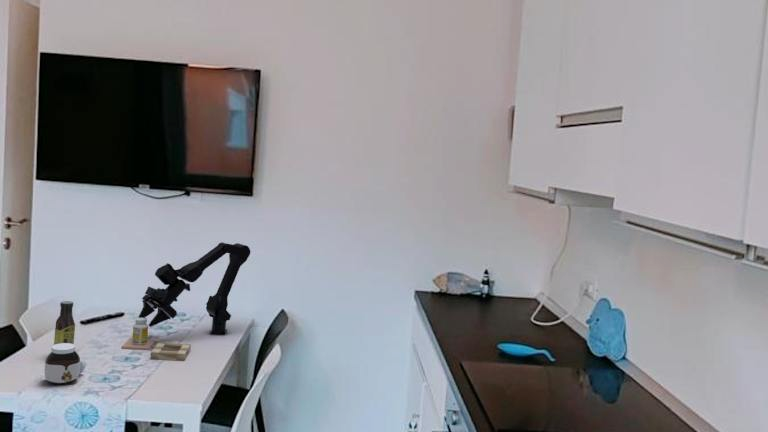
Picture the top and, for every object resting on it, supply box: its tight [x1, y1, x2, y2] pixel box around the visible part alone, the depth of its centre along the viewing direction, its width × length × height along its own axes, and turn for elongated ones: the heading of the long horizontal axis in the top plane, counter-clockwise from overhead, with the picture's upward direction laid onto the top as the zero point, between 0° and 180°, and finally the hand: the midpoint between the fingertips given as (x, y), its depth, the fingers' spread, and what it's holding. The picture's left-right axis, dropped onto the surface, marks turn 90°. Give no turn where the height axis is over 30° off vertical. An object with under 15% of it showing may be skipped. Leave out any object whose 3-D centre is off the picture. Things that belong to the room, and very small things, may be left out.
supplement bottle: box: [131, 317, 149, 345], centre depth 241 cm, size 5×5×10 cm
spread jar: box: [44, 343, 87, 387], centre depth 202 cm, size 12×11×12 cm
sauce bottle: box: [53, 300, 76, 345], centre depth 221 cm, size 7×6×20 cm
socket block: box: [149, 341, 192, 362], centre depth 235 cm, size 12×12×2 cm
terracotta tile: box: [121, 338, 157, 351], centre depth 242 cm, size 10×10×1 cm
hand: (143, 323), depth 242 cm, fingers open, 9 cm apart
